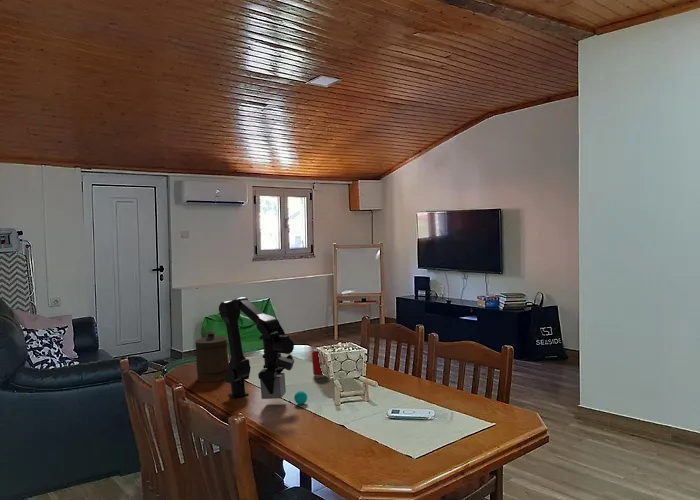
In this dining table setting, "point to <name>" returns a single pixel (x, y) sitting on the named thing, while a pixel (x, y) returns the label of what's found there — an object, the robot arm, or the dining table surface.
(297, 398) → the ball
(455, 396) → the dining table surface
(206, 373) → the wooden container
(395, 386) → the dining table surface
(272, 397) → the dark grey block
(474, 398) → the dining table surface
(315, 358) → the beverage can
